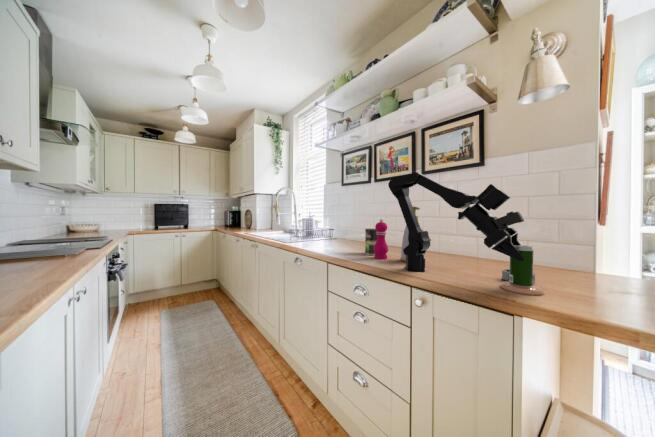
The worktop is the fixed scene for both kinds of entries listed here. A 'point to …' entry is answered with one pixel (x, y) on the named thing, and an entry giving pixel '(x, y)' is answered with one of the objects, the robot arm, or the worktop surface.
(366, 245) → the coffee can
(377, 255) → the pepper mill
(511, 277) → the beer can
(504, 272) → the collar
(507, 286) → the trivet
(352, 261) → the worktop surface
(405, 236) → the soap bottle
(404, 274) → the worktop surface
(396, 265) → the worktop surface
